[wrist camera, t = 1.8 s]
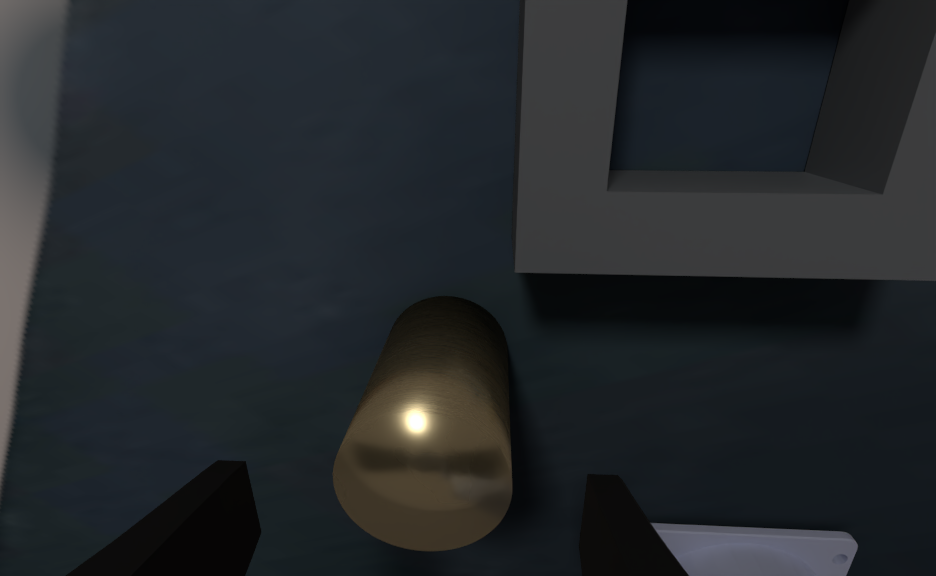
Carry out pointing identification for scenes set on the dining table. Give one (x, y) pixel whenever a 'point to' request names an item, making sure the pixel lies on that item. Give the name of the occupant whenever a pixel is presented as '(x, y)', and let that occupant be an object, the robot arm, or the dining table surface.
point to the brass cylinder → (432, 431)
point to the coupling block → (728, 192)
